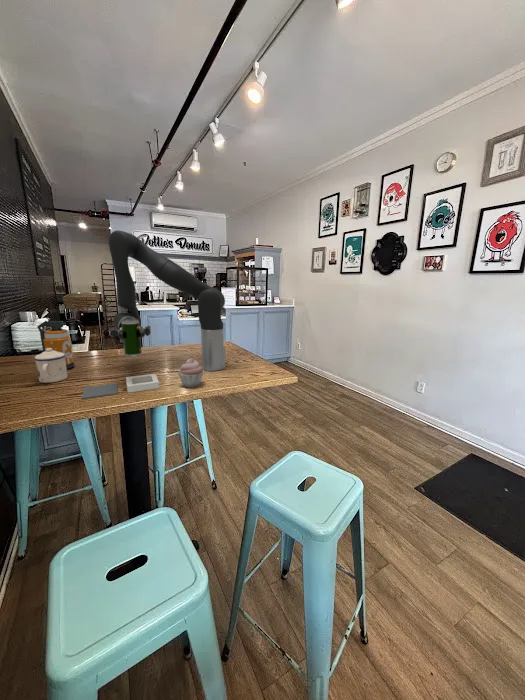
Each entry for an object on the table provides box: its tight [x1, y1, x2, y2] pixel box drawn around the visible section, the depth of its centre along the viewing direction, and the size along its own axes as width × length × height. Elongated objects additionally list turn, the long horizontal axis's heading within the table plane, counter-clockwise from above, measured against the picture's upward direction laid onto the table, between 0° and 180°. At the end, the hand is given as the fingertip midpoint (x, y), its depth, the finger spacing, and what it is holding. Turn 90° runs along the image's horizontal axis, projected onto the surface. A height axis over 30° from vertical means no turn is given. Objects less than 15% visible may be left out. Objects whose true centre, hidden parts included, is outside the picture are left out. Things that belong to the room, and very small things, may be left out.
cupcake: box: [177, 357, 205, 388], centre depth 101 cm, size 9×9×10 cm
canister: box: [36, 319, 75, 370], centre depth 115 cm, size 9×11×20 cm
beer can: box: [122, 319, 142, 358], centre depth 95 cm, size 5×5×12 cm
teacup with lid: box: [34, 348, 68, 383], centre depth 102 cm, size 12×9×12 cm
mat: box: [81, 382, 118, 400], centre depth 94 cm, size 10×10×1 cm
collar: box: [125, 373, 160, 393], centre depth 100 cm, size 10×10×2 cm
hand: (131, 335), depth 93 cm, fingers closed on beer can, 5 cm apart
